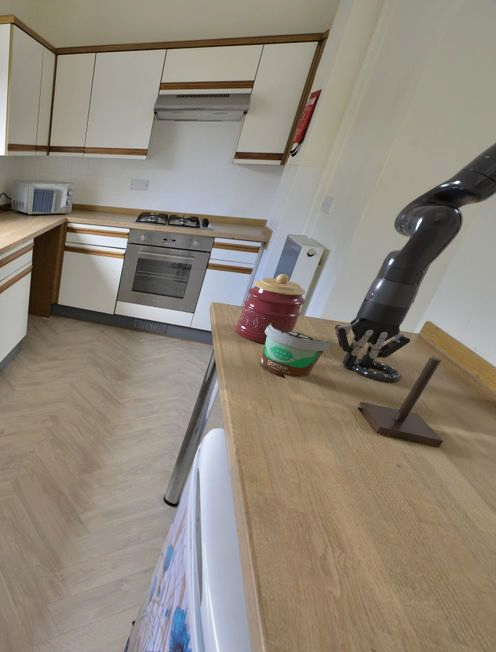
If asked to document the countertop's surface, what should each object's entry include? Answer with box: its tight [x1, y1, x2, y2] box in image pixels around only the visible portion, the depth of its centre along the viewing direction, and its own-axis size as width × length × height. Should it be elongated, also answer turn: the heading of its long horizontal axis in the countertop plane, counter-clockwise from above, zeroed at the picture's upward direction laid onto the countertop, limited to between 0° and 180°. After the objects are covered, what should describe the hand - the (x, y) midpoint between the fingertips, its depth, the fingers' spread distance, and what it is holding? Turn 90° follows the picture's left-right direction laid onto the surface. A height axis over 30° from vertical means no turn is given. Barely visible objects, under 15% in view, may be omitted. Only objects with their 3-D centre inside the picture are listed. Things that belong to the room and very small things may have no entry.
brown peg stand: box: [356, 356, 444, 448], centre depth 74 cm, size 9×9×14 cm
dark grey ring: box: [350, 358, 403, 383], centre depth 94 cm, size 9×9×2 cm
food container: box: [260, 324, 332, 379], centre depth 92 cm, size 12×6×10 cm, turn 44°
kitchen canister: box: [235, 273, 307, 345], centre depth 110 cm, size 13×13×18 cm
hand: (353, 369), depth 96 cm, fingers closed on dark grey ring, 2 cm apart
